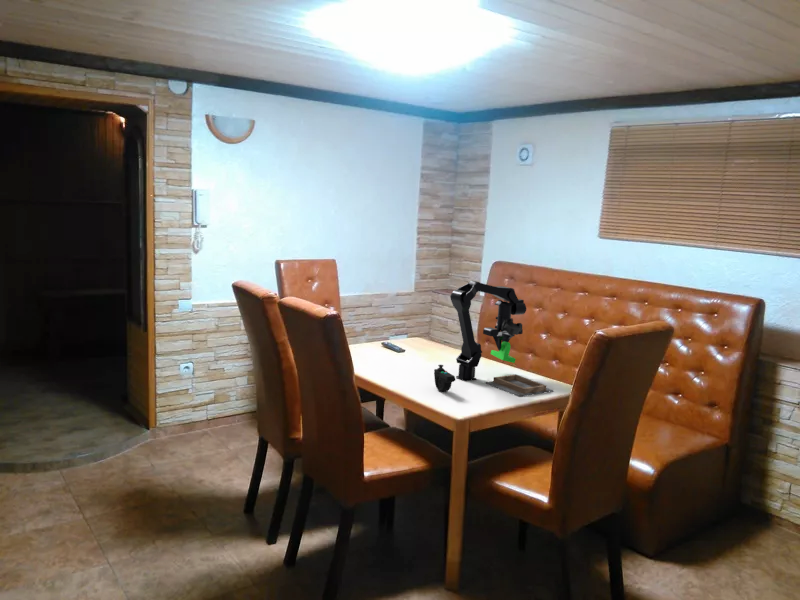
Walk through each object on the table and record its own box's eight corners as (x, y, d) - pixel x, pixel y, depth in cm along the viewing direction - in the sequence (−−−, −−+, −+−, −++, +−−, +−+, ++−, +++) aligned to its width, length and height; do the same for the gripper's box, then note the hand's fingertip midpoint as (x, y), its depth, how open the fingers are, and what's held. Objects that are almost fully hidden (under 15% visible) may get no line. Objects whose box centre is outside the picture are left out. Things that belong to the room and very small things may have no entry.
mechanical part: (514, 363, 271) (519, 345, 271) (502, 360, 269) (508, 342, 268) (501, 356, 282) (506, 339, 282) (490, 353, 280) (495, 337, 280)
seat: (518, 396, 244) (519, 390, 243) (485, 383, 260) (486, 377, 260) (553, 391, 254) (553, 385, 253) (519, 379, 270) (519, 373, 270)
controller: (440, 387, 251) (442, 363, 250) (455, 396, 240) (457, 371, 239) (431, 387, 249) (432, 363, 248) (445, 396, 238) (447, 371, 237)
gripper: (500, 319, 261) (497, 355, 263) (532, 317, 271) (529, 352, 273) (483, 315, 270) (480, 349, 272) (515, 313, 280) (512, 347, 282)
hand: (501, 349), depth 274 cm, fingers closed on mechanical part, 2 cm apart
